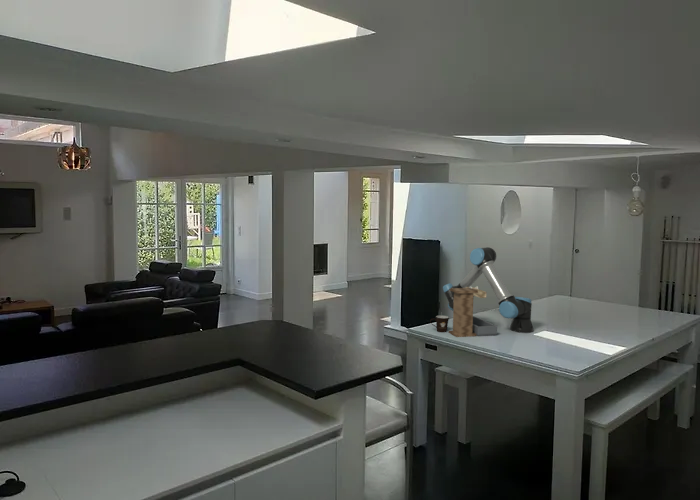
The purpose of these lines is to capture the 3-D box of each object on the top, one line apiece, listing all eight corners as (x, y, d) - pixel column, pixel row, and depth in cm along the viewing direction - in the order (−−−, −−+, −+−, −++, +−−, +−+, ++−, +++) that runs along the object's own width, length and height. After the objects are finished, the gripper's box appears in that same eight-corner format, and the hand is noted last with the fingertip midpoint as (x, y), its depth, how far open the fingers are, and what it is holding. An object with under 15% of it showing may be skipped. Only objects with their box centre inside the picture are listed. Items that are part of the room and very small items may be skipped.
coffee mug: (449, 331, 361) (450, 316, 360) (446, 333, 353) (446, 318, 353) (432, 328, 366) (433, 314, 365) (429, 331, 358) (429, 316, 357)
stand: (467, 331, 359) (469, 287, 357) (476, 336, 347) (477, 290, 345) (448, 332, 355) (449, 288, 353) (456, 337, 344) (458, 291, 341)
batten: (470, 292, 375) (470, 286, 375) (486, 297, 354) (486, 291, 354) (465, 292, 374) (465, 286, 374) (480, 298, 353) (481, 292, 353)
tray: (473, 324, 382) (473, 316, 382) (497, 335, 351) (497, 326, 351) (455, 325, 378) (456, 317, 378) (477, 336, 348) (478, 327, 347)
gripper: (472, 304, 387) (486, 292, 366) (450, 304, 382) (464, 293, 362) (470, 294, 390) (484, 282, 369) (448, 295, 385) (462, 283, 365)
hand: (474, 287), depth 365 cm, fingers closed on batten, 4 cm apart
